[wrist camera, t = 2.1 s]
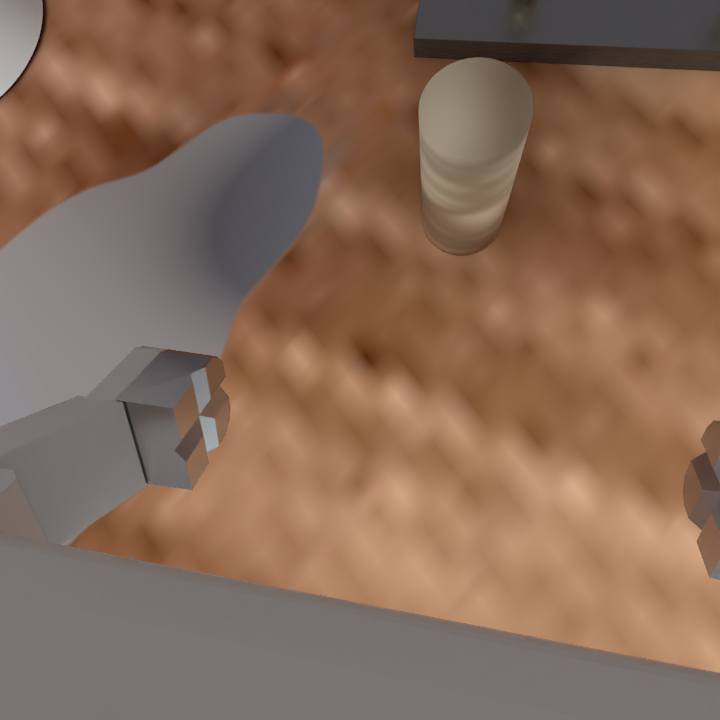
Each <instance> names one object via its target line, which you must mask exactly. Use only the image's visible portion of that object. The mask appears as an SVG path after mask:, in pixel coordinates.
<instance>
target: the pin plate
mask: <svg viewBox="0 0 720 720" xmlns="http://www.w3.org/2000/svg"><path fill="white" fill-rule="evenodd" d="M414 55H415V57H428V58H450V59H467V58H475V57H483V58H491V59H495V60H498V61H515V62H537V63H558V64H580V65H602V66H623V67H645V68H667V69H688V70H710V71H720V0H420V1H419V7H418V14H417V21H416V27H415V34H414Z"/></svg>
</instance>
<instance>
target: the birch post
mask: <svg viewBox="0 0 720 720" xmlns="http://www.w3.org/2000/svg"><path fill="white" fill-rule="evenodd" d="M533 112H534V100H533V95H532V91H531V89H530V87H529V85H528V83H527V81H526V80H525V79H524V77H523V76H522V75H521V74H520V73H519V72H518V71H517V70H516V69H514V68H513V67H511V66H510V65H508V64H506V63H504V62H501V61H498V60H495V59H491V58H483V57H475V58H467V59H463V60H459V61H456V62H454V63H451V64H449V65H447V66H446V67H444V68H443V69H441V70H440V71H439V72H437V73H436V74H435V75H434V76H433V77H432V78H431V79H430V81H429V82H428V83H427V85H426V86H425V88H424V90H423V92H422V95H421V98H420V102H419V138H420V166H421V194H422V221H423V228H424V231H425V234H426V236H427V237H428V239H429V240H430V242H431V243H432V244H433V245H434V246H435V247H437V248H438V249H440V250H441V251H443V252H446V253H448V254H452V255H460V256H463V255H471V254H474V253H477V252H479V251H481V250H483V249H485V248H486V247H488V246H489V245H490V244H491V243H492V242H493V241H494V240H495V238H496V237H497V235H498V233H499V231H500V228H501V225H502V221H503V218H504V214H505V211H506V207H507V204H508V200H509V197H510V194H511V190H512V187H513V183H514V180H515V176H516V173H517V169H518V166H519V163H520V159H521V156H522V152H523V149H524V145H525V142H526V138H527V135H528V131H529V128H530V125H531V121H532V118H533Z"/></svg>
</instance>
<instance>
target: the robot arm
mask: <svg viewBox="0 0 720 720" xmlns="http://www.w3.org/2000/svg"><path fill="white" fill-rule="evenodd" d="M42 18H43V3H42V0H0V97H1V96H2V95H3V94H4V93H5V92H6V91H7V90H8V89H9V88H10V87H11V86H12V84H13V83H14V82H15V81H16V80H17V78H18V77H19V76H20V74H21V73H22V72H23V70H24V69H25V67H26V65H27V64H28V62H29V60H30V58H31V56H32V54H33V52H34V50H35V47H36V45H37V42H38V39H39V35H40V31H41V26H42ZM225 377H226V376H225V371H224V366H223V361H222V360H221V359H219V358H218V357H216V356H210V355H203V354H196V353H189V352H183V351H176V350H170V349H167V350H166V349H161V348H154V347H146V346H141V347H136V348H134V349H133V351H132V352H131V353H130V354H128V355H127V356H126V358H125V359H124V360H122V362H121V363H120V364H118V365H117V366H116V368H115V369H114V370H113V371H112V372H111V373H110V374H109V375H108V376H107V377H106V378H105V379H104V380H103V381H102V382H101V383H100V384H99V385H98V386H97V387H96V388H95V389H94V390H93V391H92V392H91V393H90V394H89V395H88V396H87V397H84V396H76V397H74V398H71V399H69V400H66V401H64V402H61V403H59V404H56V405H54V406H51V407H49V408H46V409H44V410H41V411H39V412H36V413H34V414H31V415H28V416H26V417H24V418H21V419H19V420H16V421H13V422H11V423H8V424H6V425H3V426H1V427H0V720H720V673H717V672H712V671H707V670H701V669H696V668H691V667H686V666H681V665H676V664H671V663H665V662H660V661H655V660H650V659H645V658H640V657H635V656H629V655H624V654H619V653H614V652H609V651H604V650H599V649H593V648H588V647H583V646H578V645H573V644H568V643H563V642H558V641H552V640H547V639H542V638H537V637H532V636H527V635H522V634H516V633H511V632H506V631H501V630H496V629H491V628H486V627H480V626H475V625H470V624H465V623H460V622H455V621H450V620H444V619H439V618H434V617H429V616H424V615H419V614H414V613H408V612H403V611H398V610H393V609H388V608H383V607H378V606H372V605H367V604H362V603H357V602H352V601H347V600H342V599H336V598H331V597H326V596H321V595H316V594H311V593H306V592H300V591H295V590H290V589H285V588H280V587H275V586H270V585H264V584H259V583H254V582H249V581H244V580H239V579H234V578H228V577H223V576H218V575H213V574H208V573H203V572H198V571H192V570H187V569H182V568H177V567H172V566H167V565H162V564H156V563H151V562H146V561H141V560H136V559H131V558H126V557H120V556H115V555H110V554H105V553H100V552H95V551H90V550H84V549H79V548H74V547H69V546H63V545H61V544H63V543H64V542H66V541H67V540H68V539H70V538H71V537H73V536H74V535H76V534H77V533H79V532H80V531H82V530H83V529H85V528H86V527H88V526H89V525H91V524H92V523H93V522H95V521H96V520H98V519H99V518H101V517H102V516H104V515H105V514H107V513H108V512H110V511H111V510H113V509H114V508H116V507H117V506H118V505H120V504H121V503H123V502H124V501H126V500H127V499H129V498H130V497H132V496H133V495H135V494H136V493H138V492H139V491H140V490H142V489H143V488H145V487H146V486H147V484H153V485H160V486H168V487H175V488H182V489H189V490H193V488H194V487H195V485H196V483H197V482H198V480H199V478H200V477H201V475H202V473H203V472H204V470H205V468H206V467H207V465H208V464H209V461H208V456H207V452H209V451H211V450H212V449H214V448H216V447H218V446H219V445H220V443H221V442H222V440H223V438H224V436H225V435H226V431H227V428H228V424H229V420H230V402H229V396H228V395H227V394H226V393H225V391H224V390H223V389H222V388H221V387H220V384H221V383H222V381H223V380H224V378H225ZM701 441H702V443H703V446H704V448H705V451H706V452H705V453H703V454H701V455H700V456H698V457H696V458H695V459H693V460H691V462H690V465H689V467H688V470H687V472H686V474H685V479H684V487H683V498H684V505H685V509H686V512H687V515H688V518H689V519H690V520H691V521H692V522H694V523H695V524H696V525H697V526H698V527H699V528H700V529H701V530H702V532H701V533H700V535H699V537H698V539H697V544H698V547H699V549H700V552H701V555H702V558H703V561H704V564H705V566H706V569H707V572H708V575H709V578H714V579H719V580H720V421H715V420H714V421H713V422H712V423H711V424H710V425H709V426H708V427H707V428H706V430H705V432H704V434H703V436H702V439H701Z"/></svg>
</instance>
